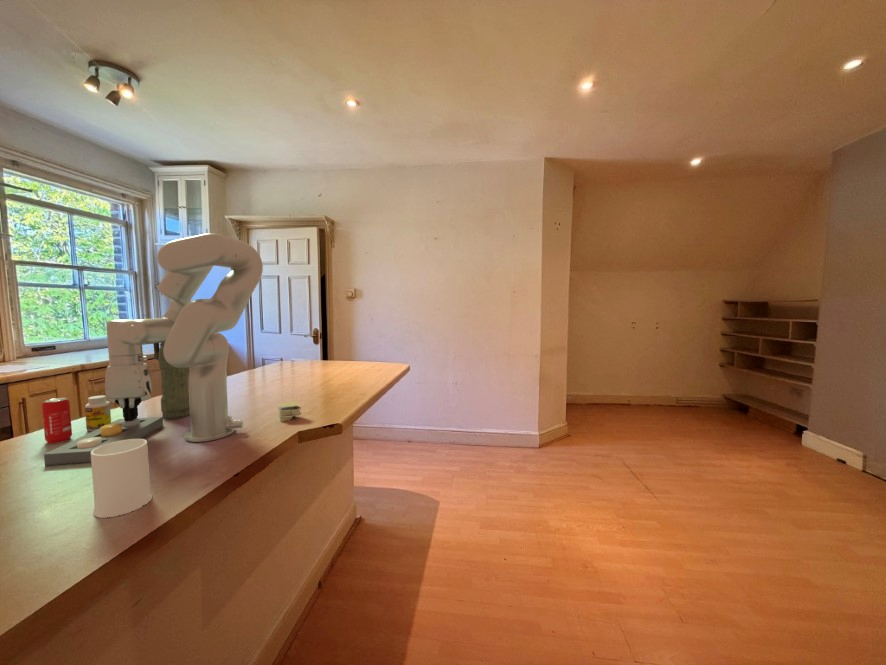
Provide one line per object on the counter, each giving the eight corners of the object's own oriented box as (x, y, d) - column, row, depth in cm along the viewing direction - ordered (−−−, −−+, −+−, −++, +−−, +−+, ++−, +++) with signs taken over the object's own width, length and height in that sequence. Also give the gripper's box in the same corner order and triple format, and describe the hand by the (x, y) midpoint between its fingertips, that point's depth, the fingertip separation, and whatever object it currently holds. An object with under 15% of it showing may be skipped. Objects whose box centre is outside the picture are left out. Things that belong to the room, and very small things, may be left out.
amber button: (126, 434, 100) (125, 422, 100) (115, 440, 96) (114, 428, 96) (108, 435, 99) (107, 423, 99) (96, 441, 95) (96, 429, 95)
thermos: (163, 413, 124) (157, 316, 121) (201, 410, 128) (196, 316, 125) (151, 421, 116) (145, 317, 113) (192, 417, 120) (187, 317, 117)
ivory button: (106, 448, 92) (105, 436, 92) (93, 456, 88) (92, 443, 88) (86, 450, 91) (85, 437, 91) (73, 457, 87) (72, 444, 87)
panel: (163, 425, 112) (162, 416, 111) (103, 461, 86) (102, 450, 86) (119, 428, 109) (118, 419, 109) (44, 466, 84) (43, 454, 83)
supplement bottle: (81, 432, 105) (79, 399, 104) (95, 426, 111) (93, 395, 110) (103, 431, 107) (101, 398, 106) (115, 425, 112) (113, 394, 111)
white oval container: (108, 492, 73) (104, 437, 72) (159, 482, 77) (156, 430, 76) (85, 523, 62) (80, 459, 61) (146, 510, 67) (142, 450, 66)
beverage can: (54, 445, 96) (50, 402, 95) (40, 443, 97) (36, 401, 96) (77, 438, 101) (74, 398, 100) (63, 436, 102) (60, 396, 101)
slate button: (143, 427, 108) (143, 417, 108) (134, 433, 104) (134, 422, 103) (127, 428, 107) (126, 418, 107) (117, 434, 103) (116, 423, 102)
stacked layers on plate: (275, 426, 113) (274, 409, 113) (273, 418, 121) (272, 403, 120) (307, 421, 118) (307, 405, 118) (303, 414, 126) (303, 399, 125)
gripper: (162, 357, 109) (166, 414, 110) (106, 359, 106) (110, 417, 107) (147, 361, 102) (151, 422, 103) (86, 363, 98) (92, 425, 100)
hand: (131, 419), depth 105 cm, fingers closed
